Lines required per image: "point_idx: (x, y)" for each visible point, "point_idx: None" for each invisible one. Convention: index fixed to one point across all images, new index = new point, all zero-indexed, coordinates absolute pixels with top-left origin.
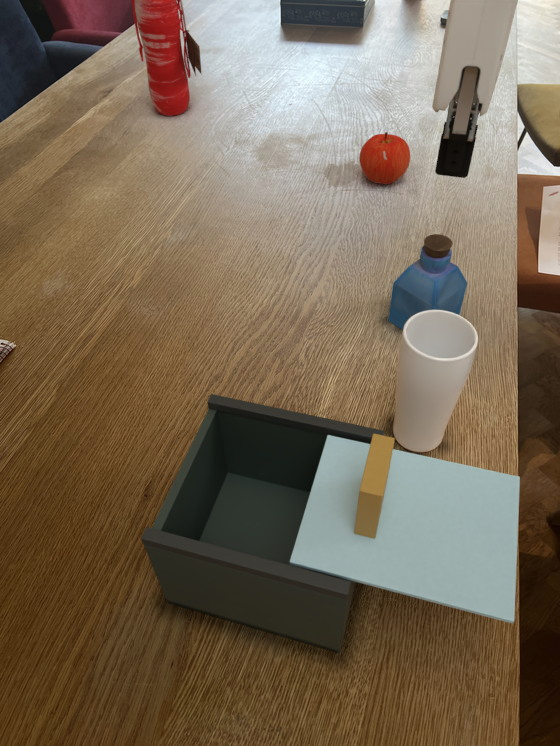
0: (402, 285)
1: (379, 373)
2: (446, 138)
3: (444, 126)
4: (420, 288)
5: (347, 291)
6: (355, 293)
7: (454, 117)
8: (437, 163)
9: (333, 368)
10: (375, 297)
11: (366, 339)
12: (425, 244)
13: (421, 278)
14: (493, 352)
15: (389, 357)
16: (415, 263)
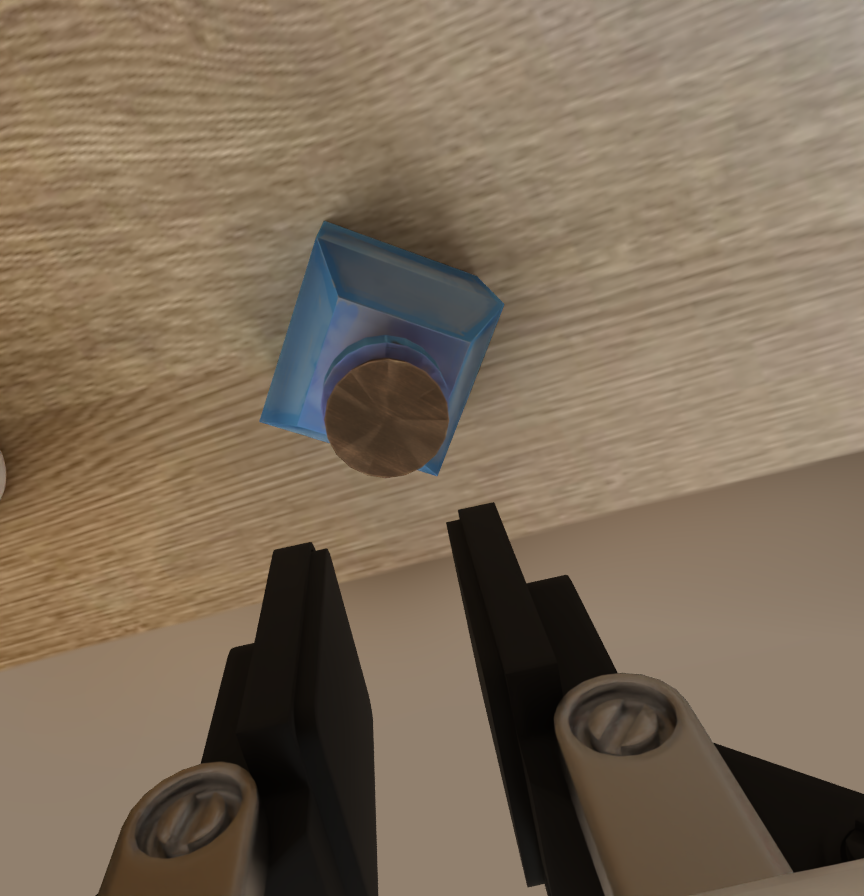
0: (306, 280)
1: (87, 286)
2: (158, 816)
3: (505, 661)
4: (294, 358)
5: (405, 13)
6: (407, 49)
7: (547, 794)
8: (269, 587)
9: (17, 138)
10: (419, 131)
11: (203, 187)
12: (345, 377)
13: (308, 360)
14: (344, 539)
15: (168, 288)
16: (366, 315)
